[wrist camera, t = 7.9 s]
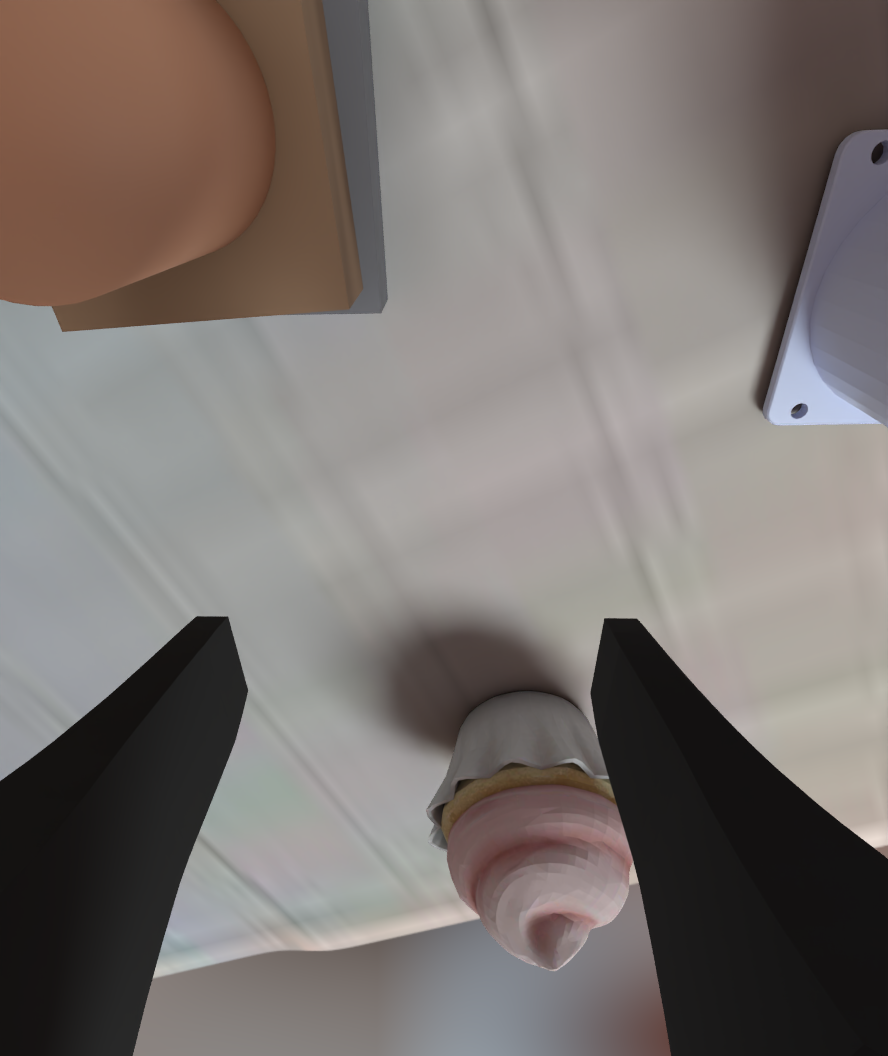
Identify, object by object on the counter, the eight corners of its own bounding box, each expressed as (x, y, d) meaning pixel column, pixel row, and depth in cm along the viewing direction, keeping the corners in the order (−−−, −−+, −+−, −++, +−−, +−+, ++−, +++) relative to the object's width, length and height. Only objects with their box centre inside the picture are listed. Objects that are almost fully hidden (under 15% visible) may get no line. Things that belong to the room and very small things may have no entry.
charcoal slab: (366, -61, 14) (350, -99, 12) (389, 295, 18) (381, 313, 16) (36, -50, 14) (-38, -87, 12) (136, 299, 18) (96, 317, 16)
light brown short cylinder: (261, -39, 10) (123, -169, 6) (285, 265, 13) (200, 318, 9) (-20, -62, 10) (-353, -208, 6) (62, 248, 13) (-129, 293, 9)
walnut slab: (312, -72, 12) (281, -121, 10) (363, 288, 16) (349, 309, 14) (-13, -35, 12) (-109, -74, 10) (113, 308, 16) (62, 331, 14)
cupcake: (653, 682, 26) (746, 928, 18) (579, 799, 31) (625, 1036, 23) (454, 645, 25) (454, 888, 17) (410, 772, 30) (393, 1010, 22)
